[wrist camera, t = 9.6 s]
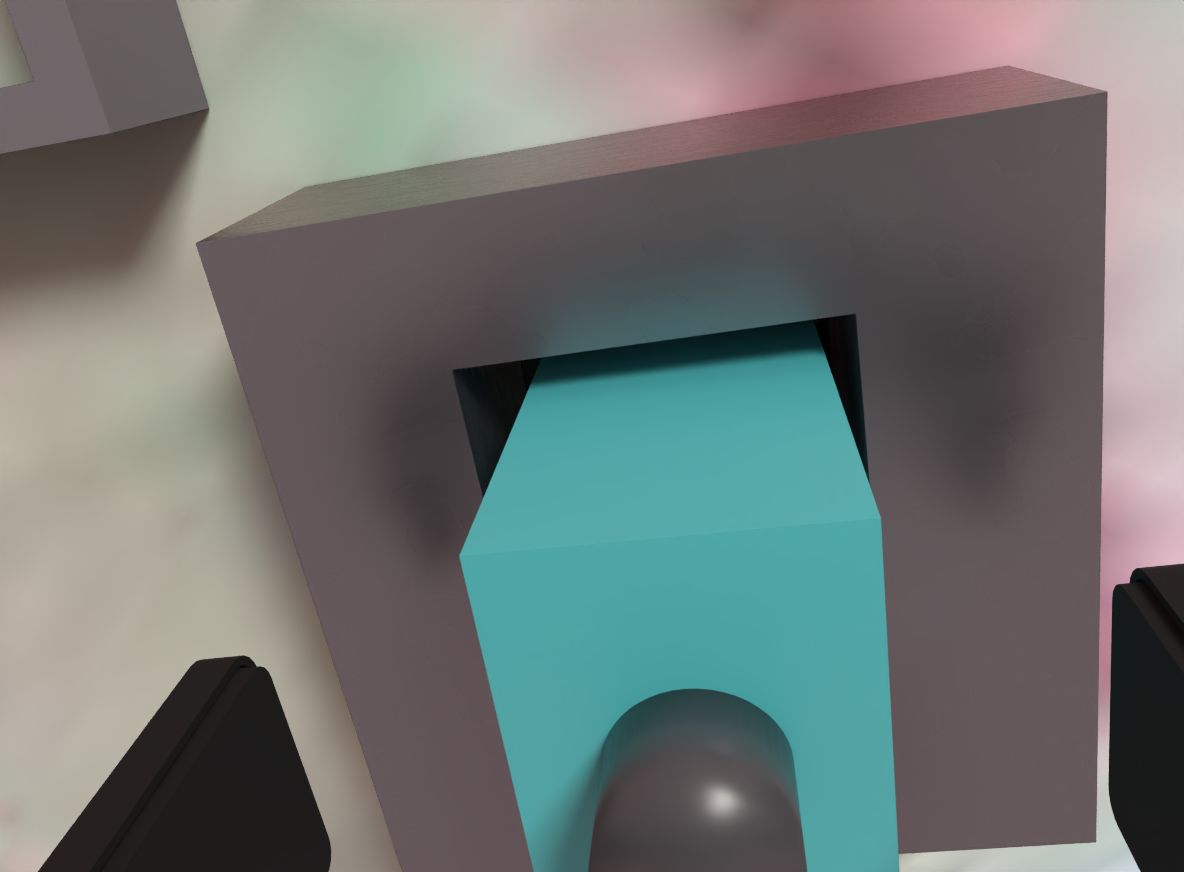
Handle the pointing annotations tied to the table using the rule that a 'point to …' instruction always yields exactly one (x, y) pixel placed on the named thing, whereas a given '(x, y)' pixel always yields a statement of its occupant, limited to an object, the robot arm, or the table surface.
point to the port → (698, 307)
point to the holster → (97, 70)
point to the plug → (689, 613)
